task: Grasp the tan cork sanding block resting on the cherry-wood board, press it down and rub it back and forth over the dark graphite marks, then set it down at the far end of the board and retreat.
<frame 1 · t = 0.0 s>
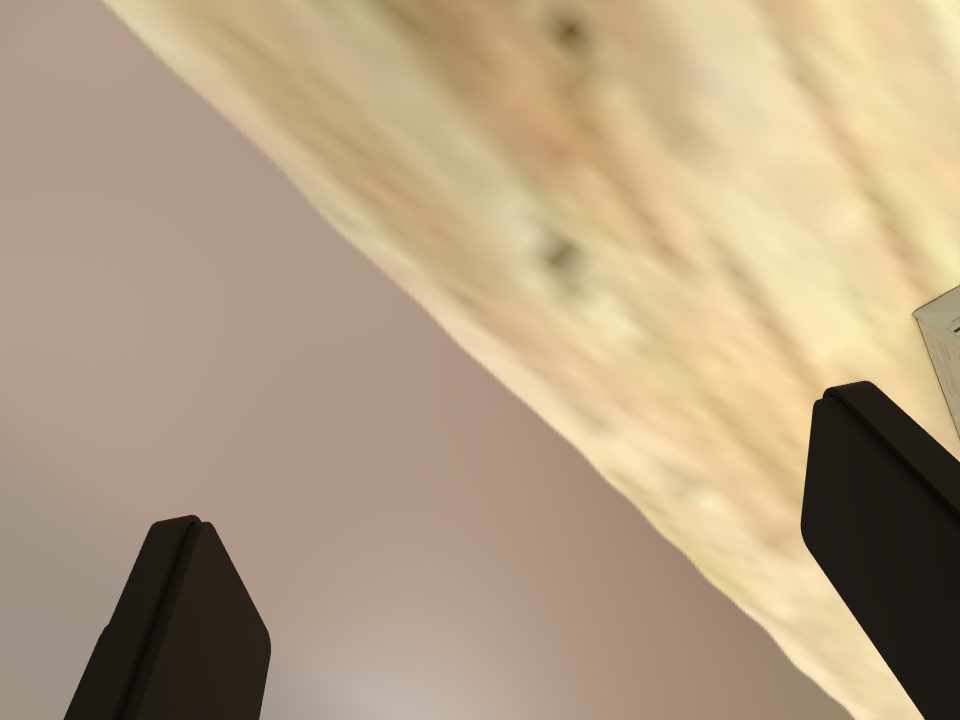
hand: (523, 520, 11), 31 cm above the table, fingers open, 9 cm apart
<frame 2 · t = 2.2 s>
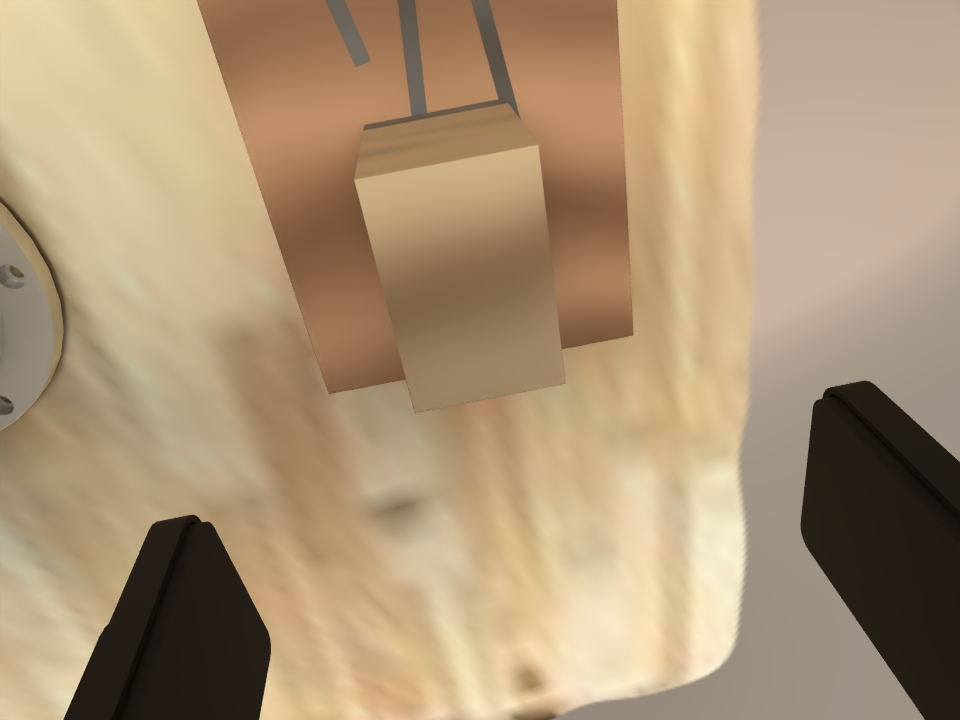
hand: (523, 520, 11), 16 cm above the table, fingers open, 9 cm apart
sanding block: (454, 216, 23), point 2 cm above the table, touching board
board: (416, 21, 22), on the table
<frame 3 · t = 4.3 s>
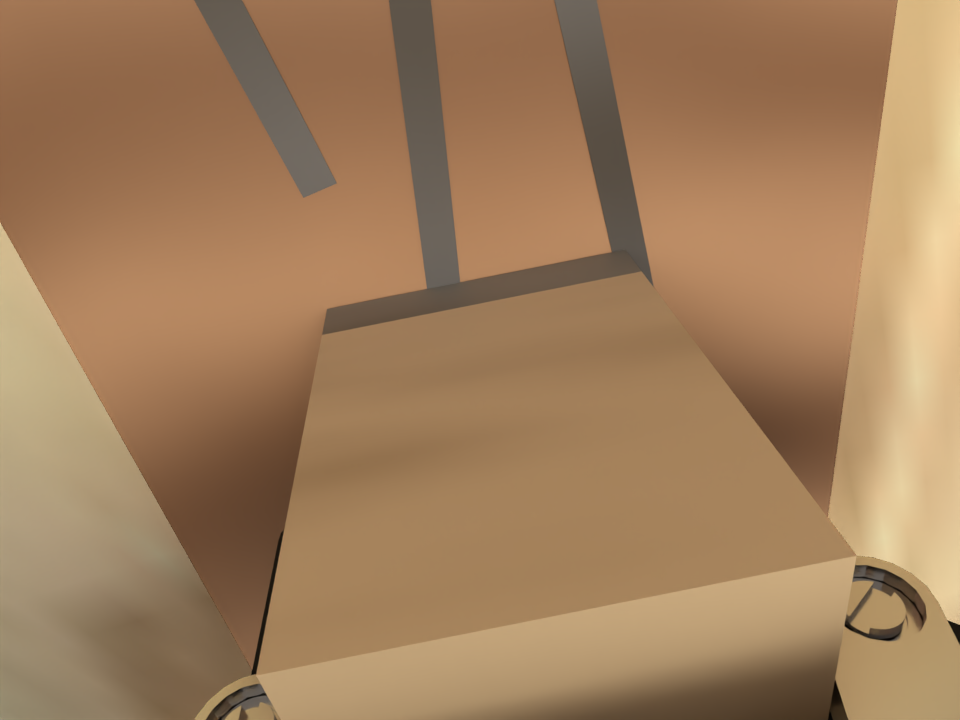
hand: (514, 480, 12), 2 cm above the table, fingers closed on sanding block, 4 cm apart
sanding block: (509, 459, 12), point 2 cm above the table, touching board, gripper
board: (435, 88, 10), on the table
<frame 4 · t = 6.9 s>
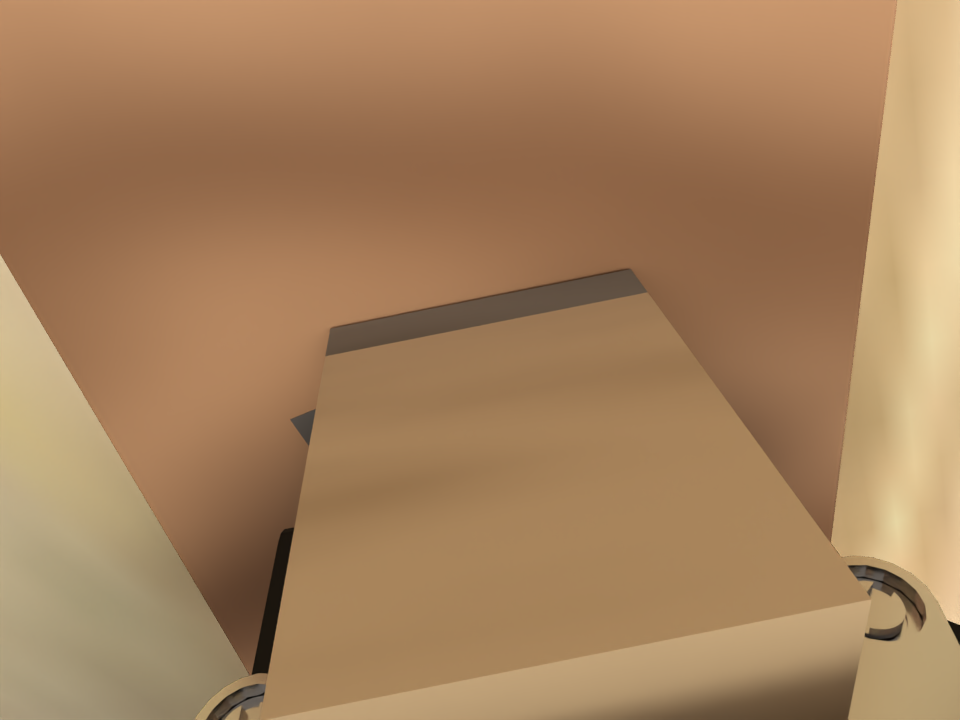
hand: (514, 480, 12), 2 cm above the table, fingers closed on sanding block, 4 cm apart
sanding block: (514, 477, 12), point 2 cm above the table, touching gripper
board: (519, 521, 15), on the table
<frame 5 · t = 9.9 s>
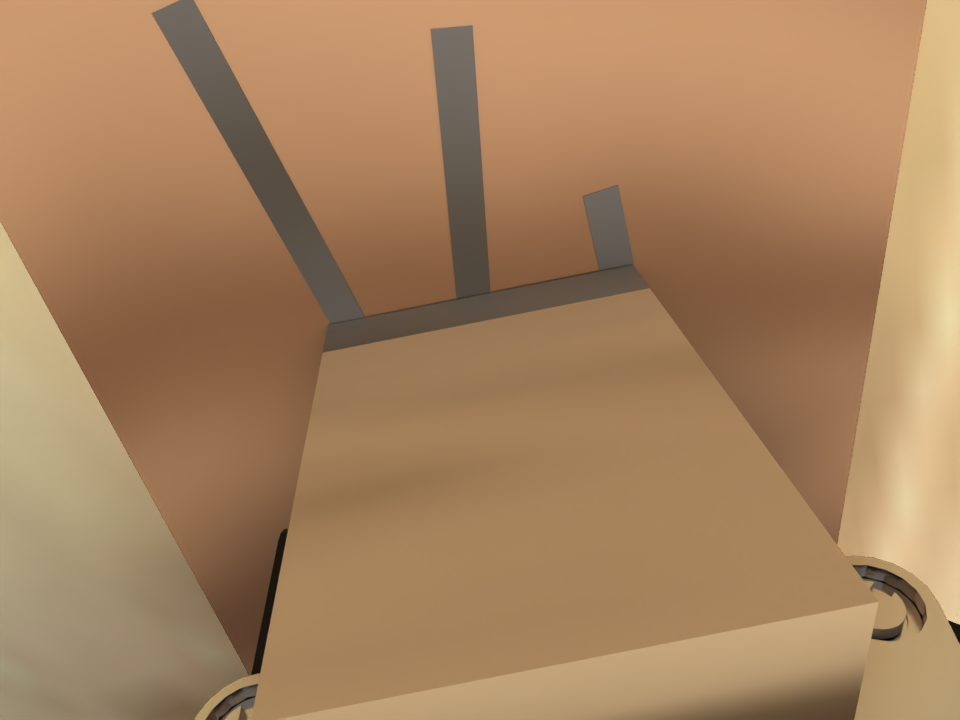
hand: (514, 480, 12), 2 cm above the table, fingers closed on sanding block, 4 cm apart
sanding block: (514, 475, 12), point 2 cm above the table, touching gripper
board: (481, 279, 12), on the table
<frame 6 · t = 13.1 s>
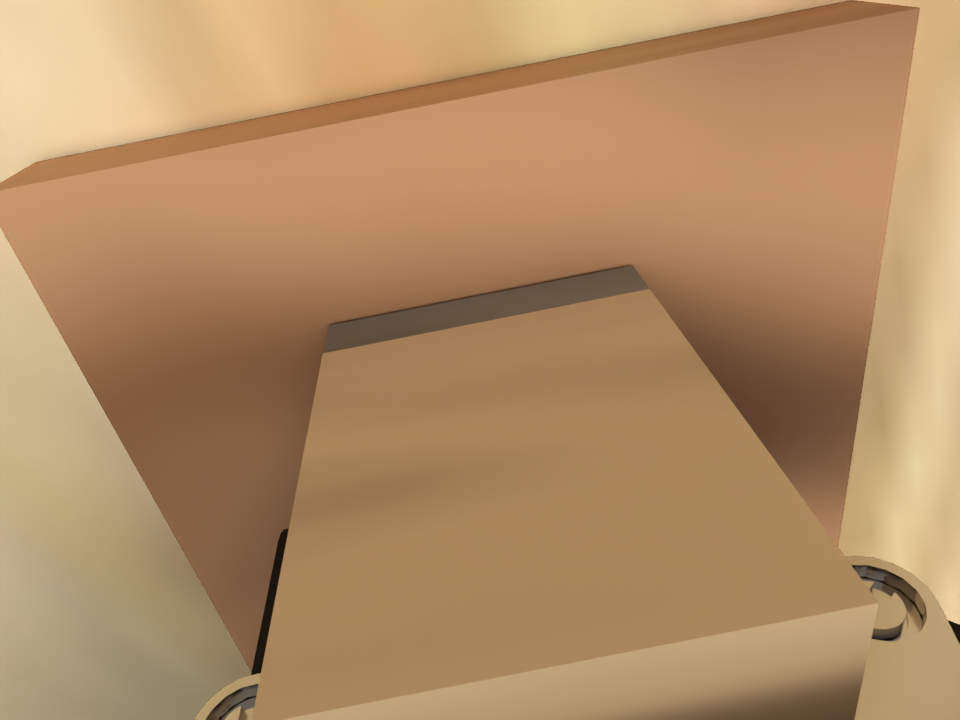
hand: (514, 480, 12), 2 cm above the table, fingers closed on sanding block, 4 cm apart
sanding block: (514, 476, 12), point 2 cm above the table, touching gripper
board: (542, 616, 16), on the table
when the fingers open (3 cm above the table, at t = 15.9 s): sanding block drops 1 cm, resting on board.
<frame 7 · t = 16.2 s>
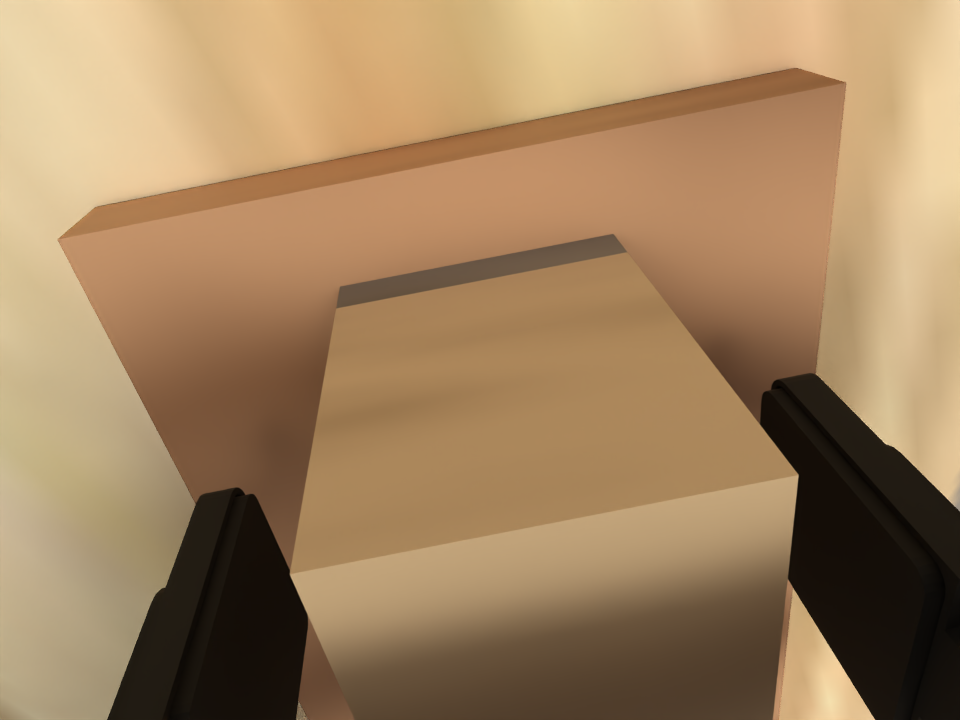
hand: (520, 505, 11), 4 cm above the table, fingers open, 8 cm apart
sanding block: (507, 430, 13), point 2 cm above the table, touching board
board: (535, 604, 18), on the table
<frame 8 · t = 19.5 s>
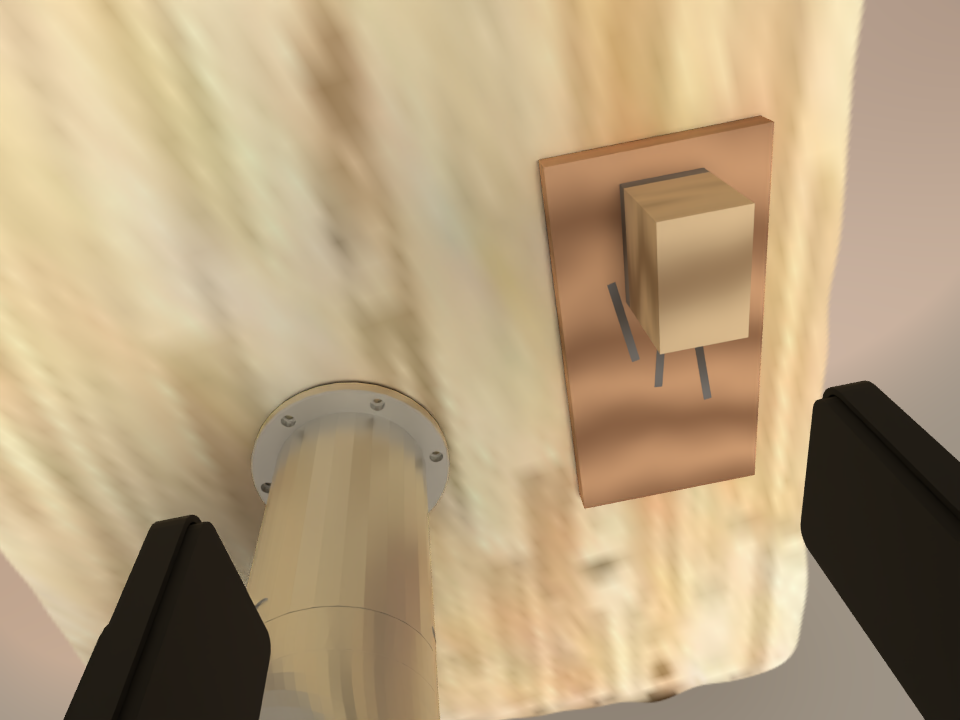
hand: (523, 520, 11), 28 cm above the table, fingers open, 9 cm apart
sanding block: (663, 238, 38), point 2 cm above the table, touching board
board: (656, 332, 43), on the table
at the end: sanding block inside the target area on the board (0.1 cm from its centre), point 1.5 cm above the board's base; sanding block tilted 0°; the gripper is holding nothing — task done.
